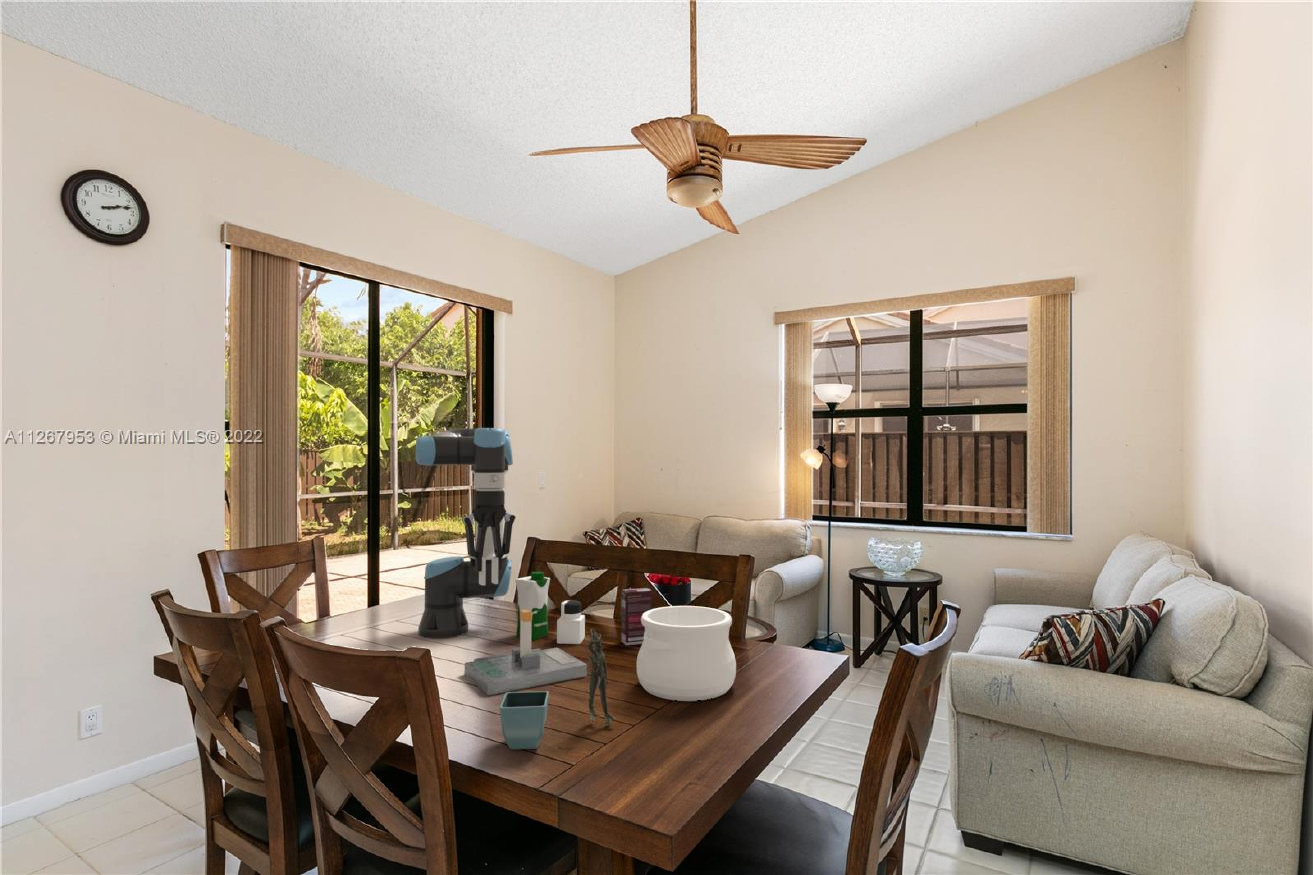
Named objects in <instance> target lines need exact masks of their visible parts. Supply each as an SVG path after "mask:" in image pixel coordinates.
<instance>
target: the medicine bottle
mask: <svg viewBox="0 0 1313 875" xmlns="http://www.w3.org/2000/svg"><path fill="white" fill-rule="evenodd" d="M560 604H561V605H560V606H561V607H560V612H561V613H560V615H561V616H560V617H559V618H557V620H556V644H561V645H562V644H565V645H569V644H570V645H580V644H582V642H583V641H584V639H585V638H586V635H585V634H586V632H585V631H586V630H585V629H586V628H585V627H586V625H585V624H586V615H585V614H582V603H581V602H580V601H579V600H575V599H570V600H564V601H562V602H561V603H560Z"/></svg>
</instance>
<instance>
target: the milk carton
mask: <svg viewBox="0 0 1313 875" xmlns="http://www.w3.org/2000/svg"><path fill="white" fill-rule="evenodd" d="M514 581H515V585H516V589H517V624H516V633H515V635H516V636H515V637H516V638H520V610H526V609H528V610H530V611H532V621H531V641H535V640H538V639H541V638H545V637H548V636H549V623H548V620H549V619H548V600H549V599H548V598H549V597H548V592H549V586H550V581H551V578H550V577H546V576H545V572H544V571H540V570H539V571H538V570H537V571H531V572H530V576H524V577H519V578H515V580H514Z"/></svg>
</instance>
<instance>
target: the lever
mask: <svg viewBox="0 0 1313 875" xmlns="http://www.w3.org/2000/svg"><path fill="white" fill-rule="evenodd" d="M531 621H532V611H530V610H528V609H526V610H520V640H519V645H520V646H519V648H520V658H521V659H522V656H523V655H529V654H531V650H532V640H531Z"/></svg>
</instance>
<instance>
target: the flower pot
mask: <svg viewBox="0 0 1313 875" xmlns="http://www.w3.org/2000/svg"><path fill="white" fill-rule="evenodd" d="M549 694H550V693H549V691H548V690H545V691H540V690H539V691H537V690H536V691H509V692H504V695H503V699H502V701H501V704H500V705H499V715H500V722H501V731H502V735H503V738H504V740H505V741H504V742H505V744H507V746H508V748H510V750H528V749H529V750H532V749H534V750H535V749H537V748H538V747H539V744H540V743H541V740H542V738H543V735H544V731H545V724H546V720H547V714H548V706H549V704H548V703H549Z"/></svg>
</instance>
